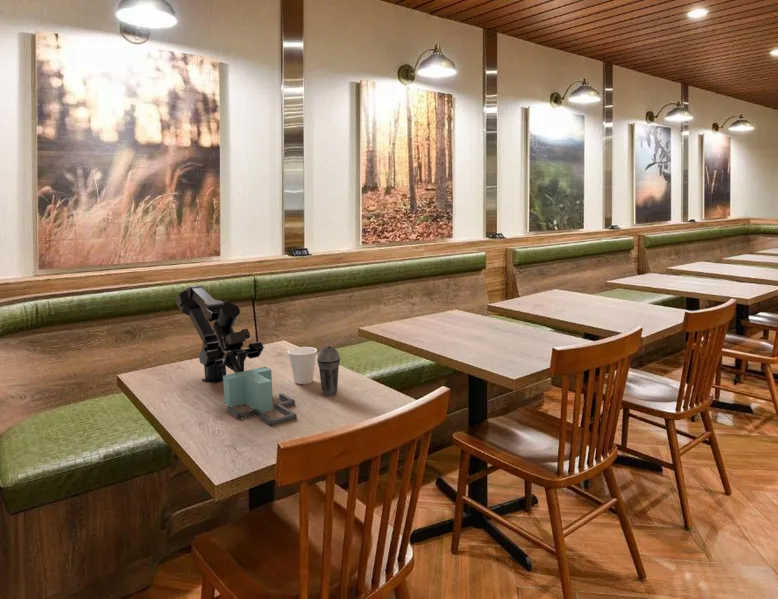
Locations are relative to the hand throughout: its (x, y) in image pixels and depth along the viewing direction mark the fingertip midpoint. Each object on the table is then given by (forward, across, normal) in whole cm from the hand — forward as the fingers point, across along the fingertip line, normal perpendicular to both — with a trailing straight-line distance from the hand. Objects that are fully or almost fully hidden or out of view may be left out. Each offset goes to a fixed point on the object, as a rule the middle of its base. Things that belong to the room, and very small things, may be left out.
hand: (242, 376), depth 181 cm
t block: (+11, 0, -1) cm, 11 cm away
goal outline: (+17, 0, -7) cm, 18 cm away
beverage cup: (+16, +22, -6) cm, 28 cm away
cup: (+4, +22, +6) cm, 23 cm away
